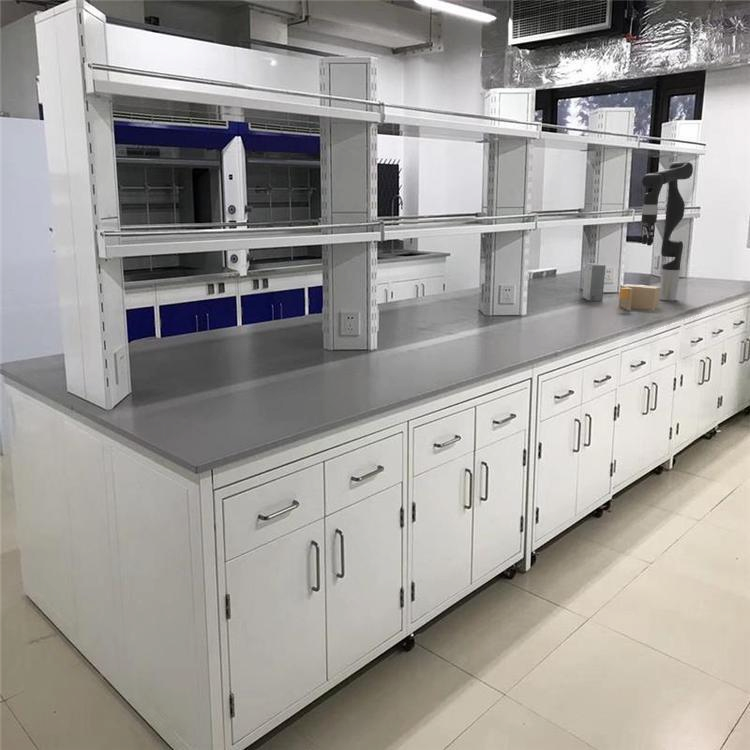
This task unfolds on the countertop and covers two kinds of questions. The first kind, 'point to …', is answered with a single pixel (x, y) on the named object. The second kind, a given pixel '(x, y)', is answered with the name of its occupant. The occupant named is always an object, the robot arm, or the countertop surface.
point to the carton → (644, 296)
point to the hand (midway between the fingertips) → (646, 244)
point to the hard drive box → (593, 281)
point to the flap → (625, 297)
